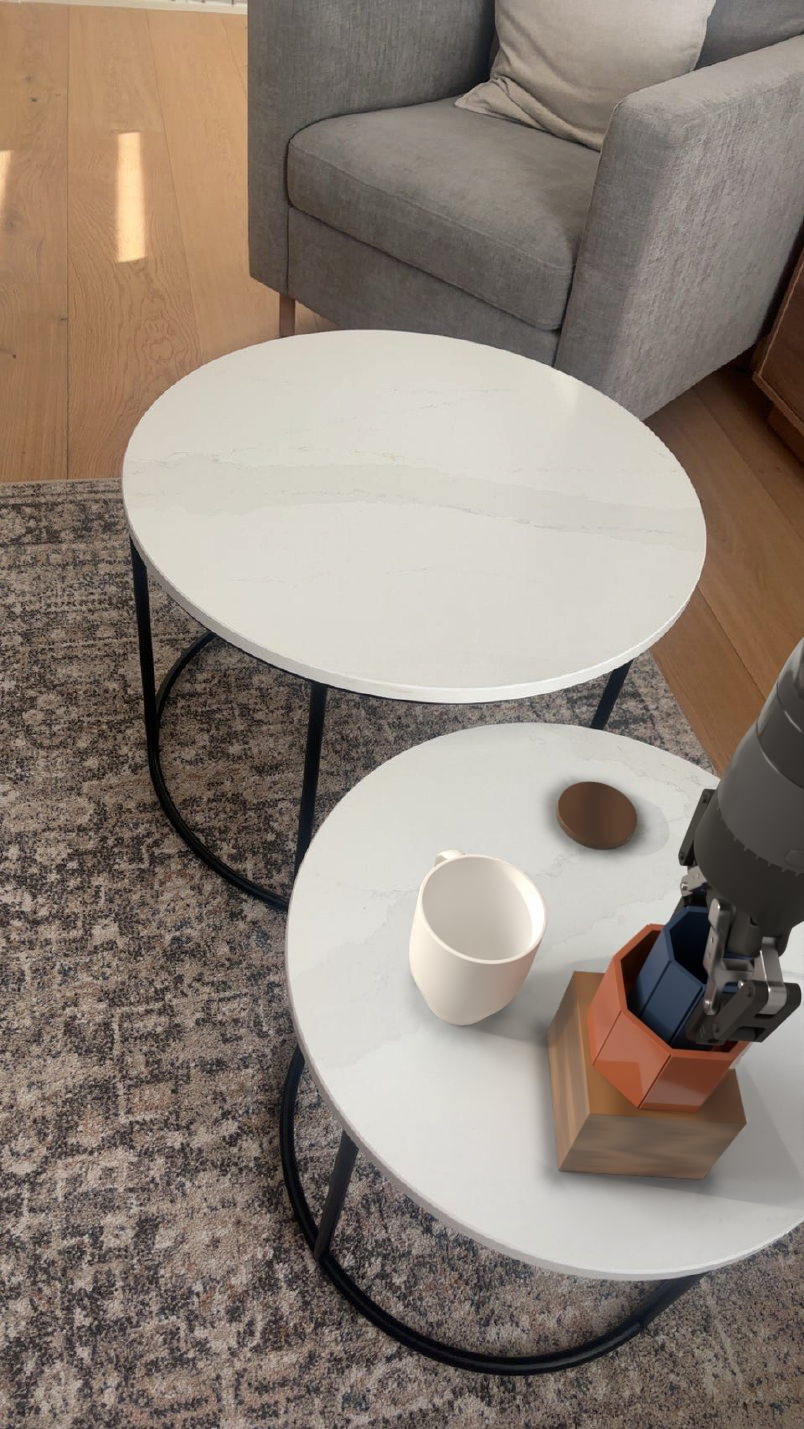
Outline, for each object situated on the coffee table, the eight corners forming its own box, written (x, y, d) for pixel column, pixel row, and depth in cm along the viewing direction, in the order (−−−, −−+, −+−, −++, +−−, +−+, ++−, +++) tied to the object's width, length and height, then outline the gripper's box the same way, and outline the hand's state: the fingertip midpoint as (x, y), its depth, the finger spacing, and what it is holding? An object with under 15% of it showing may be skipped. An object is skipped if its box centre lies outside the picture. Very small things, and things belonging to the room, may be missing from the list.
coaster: (629, 790, 98) (631, 784, 98) (640, 853, 93) (642, 847, 93) (552, 783, 98) (554, 778, 97) (559, 846, 93) (561, 840, 92)
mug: (531, 1037, 80) (567, 950, 71) (417, 1061, 78) (440, 973, 69) (482, 905, 88) (509, 812, 79) (376, 924, 85) (392, 829, 77)
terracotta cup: (711, 986, 74) (746, 930, 69) (737, 1115, 68) (778, 1063, 63) (581, 977, 74) (607, 919, 69) (596, 1106, 67) (625, 1053, 62)
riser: (678, 1043, 81) (717, 980, 75) (702, 1179, 74) (747, 1123, 68) (546, 1033, 80) (573, 970, 74) (557, 1170, 73) (589, 1113, 67)
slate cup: (694, 1003, 73) (750, 910, 65) (709, 1083, 69) (771, 994, 61) (611, 997, 72) (658, 903, 64) (622, 1077, 68) (673, 987, 60)
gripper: (914, 940, 49) (779, 1103, 61) (831, 710, 59) (729, 889, 71) (751, 927, 48) (647, 1094, 60) (695, 697, 58) (616, 880, 70)
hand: (692, 982), depth 65 cm, fingers open, 6 cm apart
